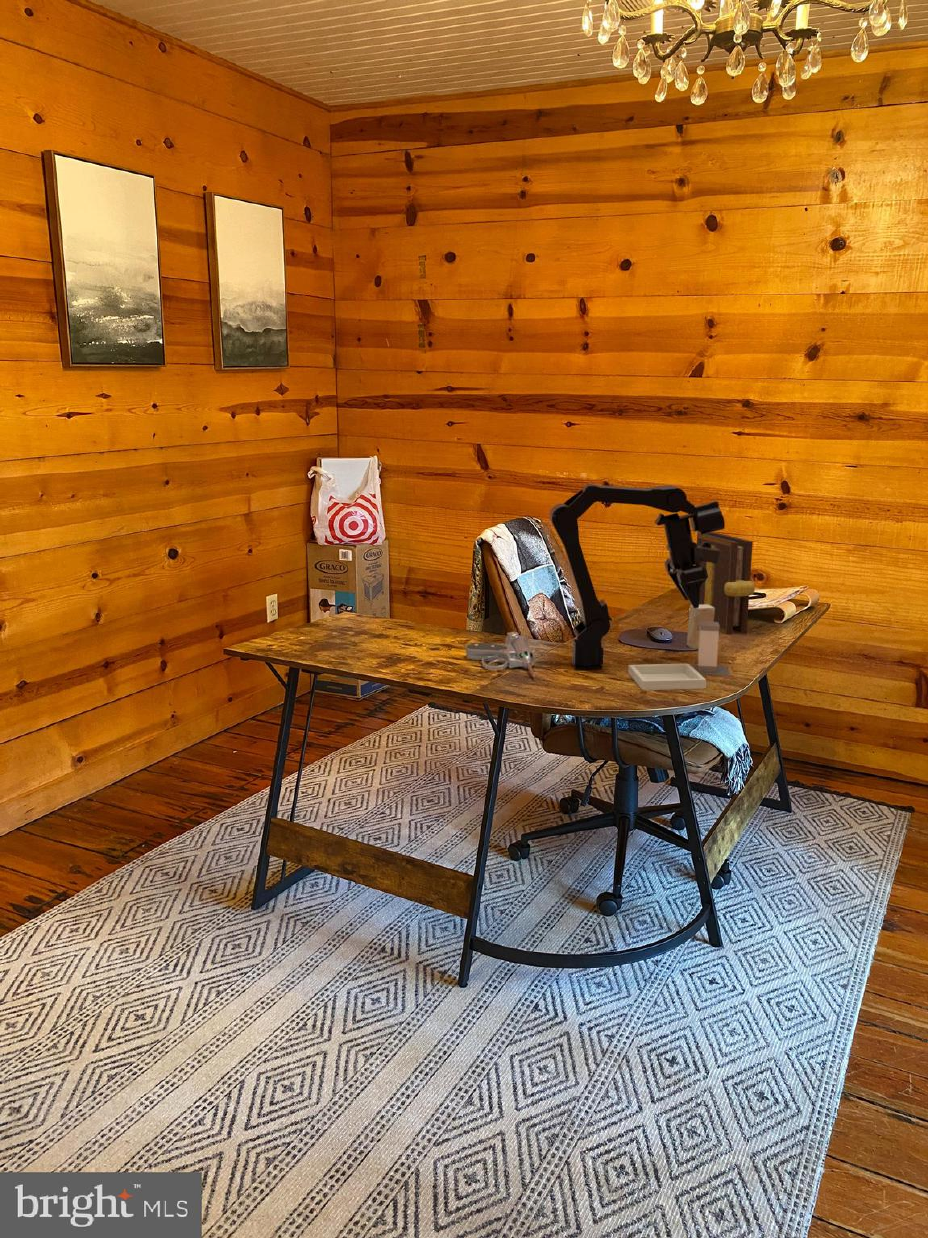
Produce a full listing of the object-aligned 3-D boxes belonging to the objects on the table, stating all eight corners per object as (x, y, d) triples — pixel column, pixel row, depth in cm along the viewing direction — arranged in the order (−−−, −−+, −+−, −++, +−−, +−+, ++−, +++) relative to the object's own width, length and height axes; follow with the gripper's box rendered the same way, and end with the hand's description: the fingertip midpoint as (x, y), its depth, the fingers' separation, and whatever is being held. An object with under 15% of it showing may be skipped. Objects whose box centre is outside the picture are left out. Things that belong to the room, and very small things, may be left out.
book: (686, 619, 277) (691, 533, 271) (712, 617, 279) (717, 531, 273) (729, 637, 256) (734, 544, 250) (756, 635, 259) (763, 542, 253)
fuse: (698, 671, 223) (700, 625, 220) (697, 666, 227) (699, 621, 224) (716, 672, 222) (719, 626, 219) (715, 667, 226) (718, 622, 223)
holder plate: (685, 675, 222) (685, 673, 221) (684, 666, 229) (684, 663, 229) (730, 677, 220) (730, 675, 220) (727, 668, 227) (727, 666, 227)
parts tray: (642, 692, 209) (643, 681, 208) (628, 675, 222) (628, 664, 221) (705, 690, 210) (706, 679, 209) (687, 673, 223) (688, 663, 222)
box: (693, 651, 243) (695, 608, 240) (686, 646, 247) (688, 604, 244) (712, 649, 244) (715, 607, 241) (705, 645, 248) (707, 603, 245)
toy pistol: (464, 654, 244) (525, 646, 245) (477, 696, 217) (547, 687, 219) (461, 632, 242) (524, 625, 243) (475, 672, 216) (545, 663, 217)
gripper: (724, 537, 213) (736, 604, 216) (704, 526, 231) (715, 588, 234) (674, 548, 214) (687, 615, 217) (658, 537, 232) (670, 598, 235)
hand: (691, 603), depth 226 cm, fingers open, 9 cm apart
